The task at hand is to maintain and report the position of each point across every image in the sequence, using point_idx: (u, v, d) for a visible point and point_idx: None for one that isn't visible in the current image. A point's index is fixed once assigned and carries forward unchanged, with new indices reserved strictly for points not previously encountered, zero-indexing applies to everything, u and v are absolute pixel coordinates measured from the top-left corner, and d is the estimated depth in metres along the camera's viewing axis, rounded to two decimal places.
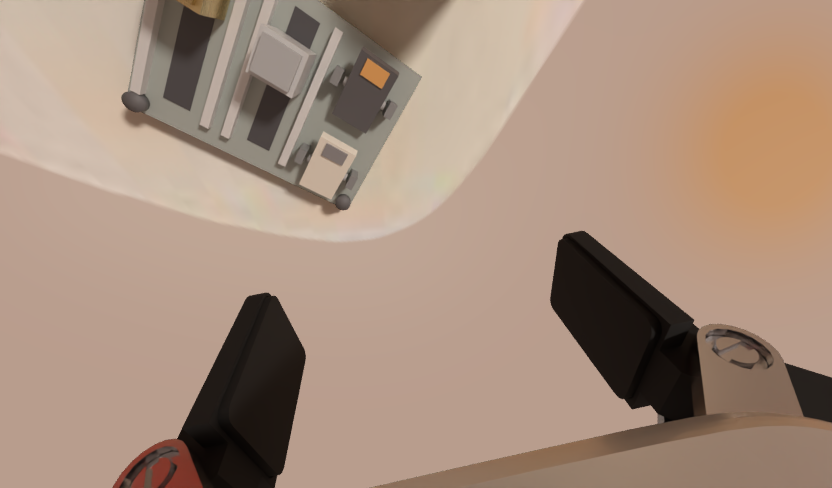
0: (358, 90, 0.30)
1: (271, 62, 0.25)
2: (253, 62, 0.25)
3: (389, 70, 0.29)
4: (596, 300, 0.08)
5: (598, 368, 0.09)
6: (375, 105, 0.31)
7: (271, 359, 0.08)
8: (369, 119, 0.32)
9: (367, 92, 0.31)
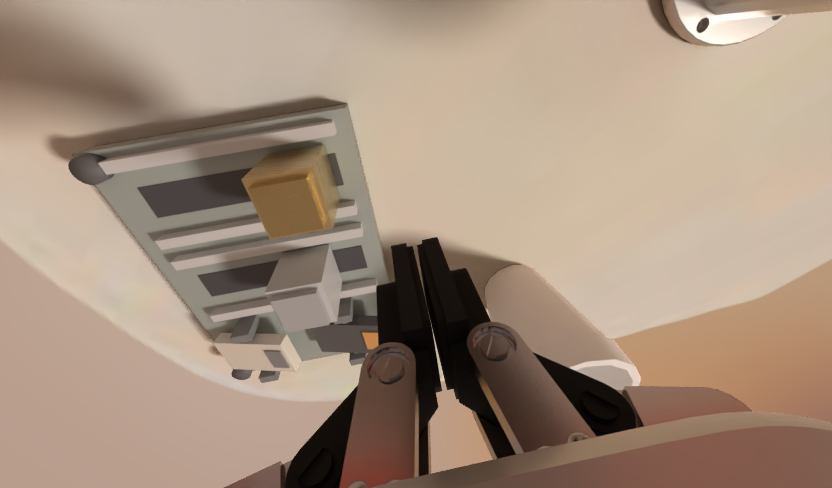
0: (349, 335, 0.28)
1: (297, 311, 0.22)
2: (280, 301, 0.21)
3: None
4: (429, 301, 0.09)
5: None
6: (351, 349, 0.30)
7: None
8: (335, 349, 0.30)
9: (354, 340, 0.29)
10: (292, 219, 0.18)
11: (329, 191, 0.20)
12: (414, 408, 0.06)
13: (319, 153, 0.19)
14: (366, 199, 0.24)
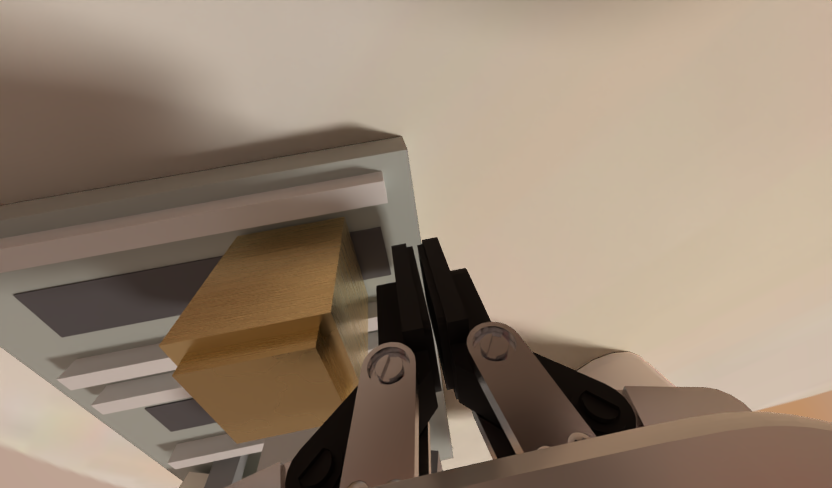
0: None
1: None
2: None
3: None
4: (429, 301, 0.09)
5: None
6: None
7: None
8: None
9: None
10: (283, 413, 0.08)
11: (357, 317, 0.10)
12: (414, 408, 0.06)
13: (339, 249, 0.10)
14: None
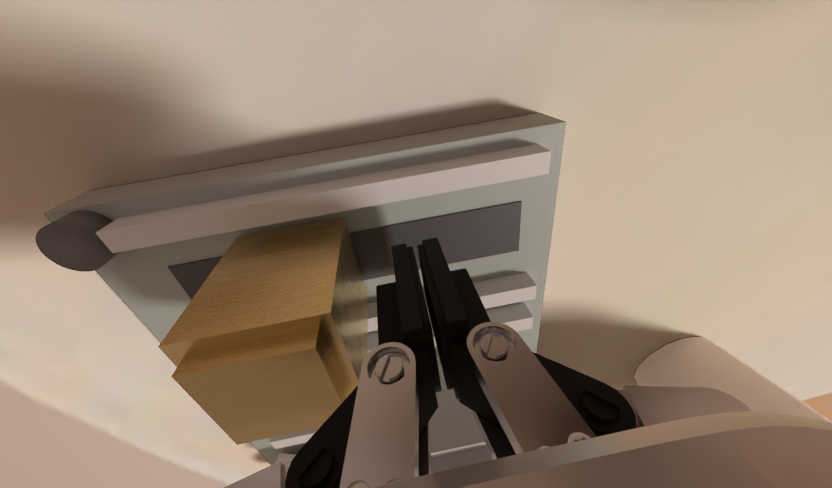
0: None
1: None
2: None
3: None
4: (429, 301, 0.09)
5: None
6: None
7: None
8: None
9: None
10: (283, 414, 0.08)
11: (357, 317, 0.10)
12: (414, 408, 0.06)
13: (338, 250, 0.09)
14: (544, 270, 0.14)
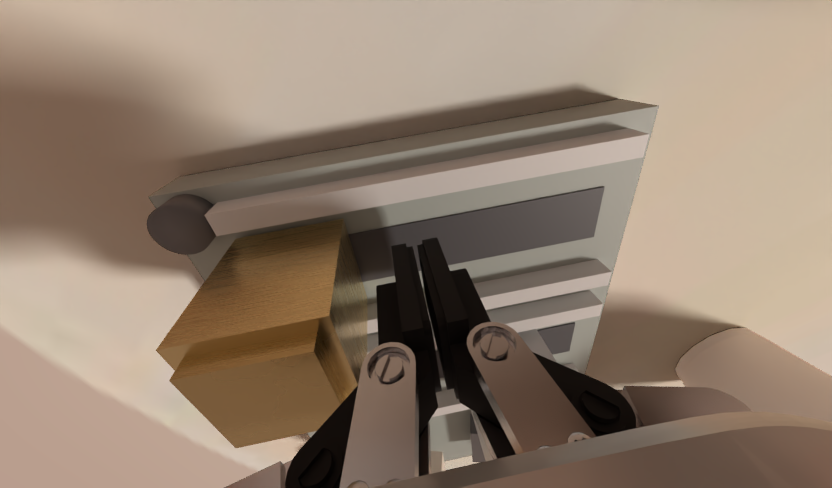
0: None
1: None
2: None
3: None
4: (429, 301, 0.09)
5: None
6: None
7: None
8: None
9: None
10: (281, 417, 0.08)
11: (356, 319, 0.10)
12: (414, 408, 0.06)
13: (337, 252, 0.09)
14: (614, 257, 0.15)
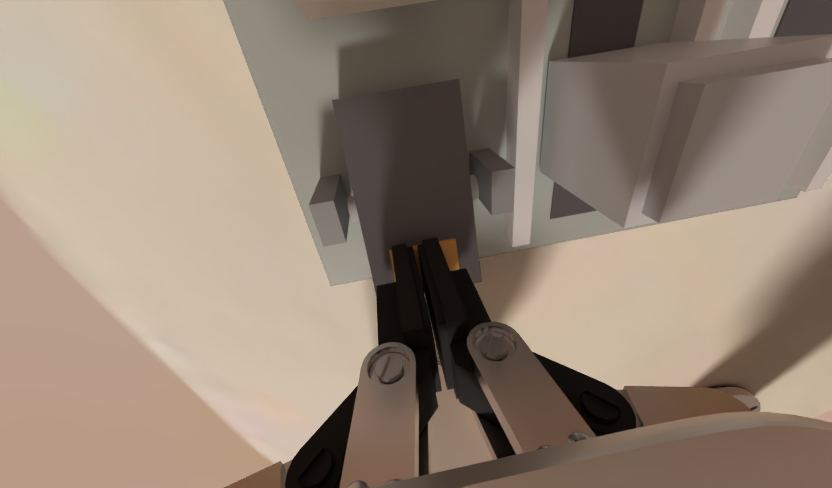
0: (433, 201, 0.10)
1: (759, 141, 0.07)
2: (828, 97, 0.07)
3: None
4: (429, 301, 0.09)
5: None
6: (372, 202, 0.10)
7: None
8: (356, 153, 0.10)
9: (411, 215, 0.11)
10: None
11: None
12: (414, 408, 0.06)
13: None
14: None
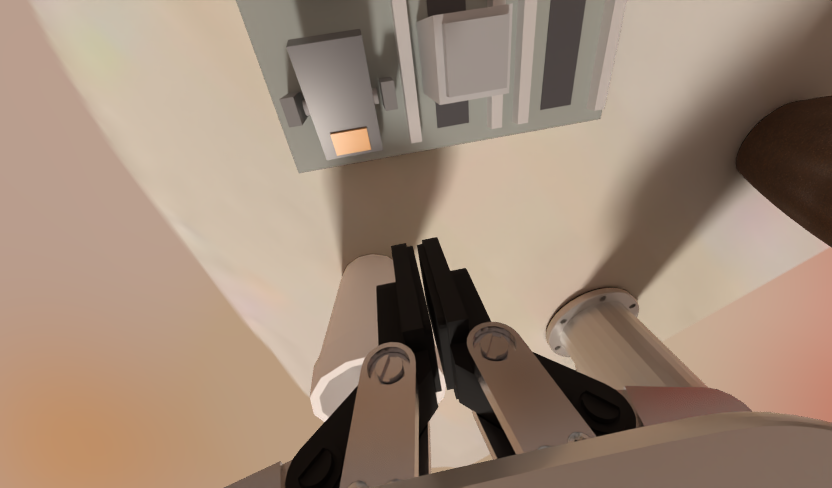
0: (352, 106, 0.19)
1: (482, 53, 0.15)
2: (506, 32, 0.15)
3: (340, 156, 0.21)
4: (429, 301, 0.09)
5: None
6: (317, 107, 0.18)
7: None
8: (305, 78, 0.17)
9: (340, 114, 0.19)
10: None
11: None
12: (414, 408, 0.06)
13: None
14: (519, 131, 0.24)
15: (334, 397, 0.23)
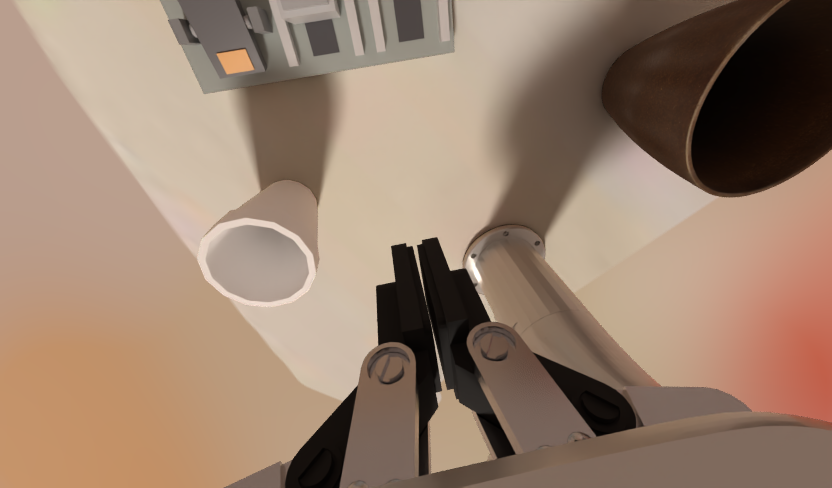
0: (229, 29, 0.24)
1: None
2: None
3: (230, 75, 0.27)
4: (429, 301, 0.09)
5: None
6: (200, 28, 0.24)
7: None
8: (184, 2, 0.23)
9: (221, 35, 0.25)
10: None
11: None
12: (414, 408, 0.06)
13: None
14: (385, 62, 0.29)
15: (230, 275, 0.28)
